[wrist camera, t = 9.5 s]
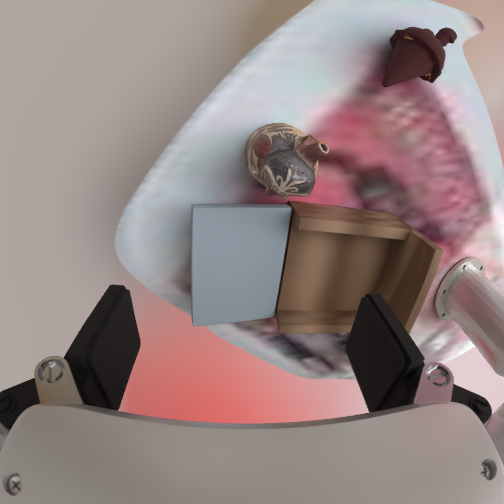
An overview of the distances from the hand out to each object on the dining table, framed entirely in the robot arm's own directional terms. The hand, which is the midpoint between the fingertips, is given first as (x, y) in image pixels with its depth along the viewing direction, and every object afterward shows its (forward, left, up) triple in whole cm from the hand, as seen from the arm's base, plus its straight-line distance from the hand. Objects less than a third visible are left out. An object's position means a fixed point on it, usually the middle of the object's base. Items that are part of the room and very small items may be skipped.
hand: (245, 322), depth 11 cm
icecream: (-18, -20, -22) cm, 35 cm away
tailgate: (-5, +7, -19) cm, 21 cm away
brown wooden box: (-13, +7, -22) cm, 26 cm away
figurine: (-4, -5, -22) cm, 23 cm away
